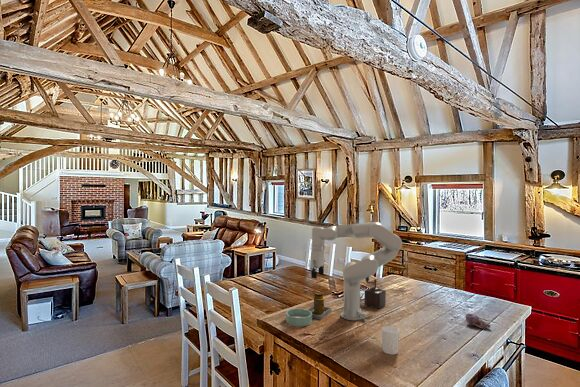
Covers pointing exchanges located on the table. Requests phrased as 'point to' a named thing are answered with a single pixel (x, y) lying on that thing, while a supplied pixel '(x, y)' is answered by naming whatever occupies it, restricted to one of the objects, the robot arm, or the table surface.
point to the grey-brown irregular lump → (476, 321)
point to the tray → (320, 315)
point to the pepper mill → (374, 296)
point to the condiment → (318, 304)
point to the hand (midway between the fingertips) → (317, 276)
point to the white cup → (390, 339)
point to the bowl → (299, 317)
